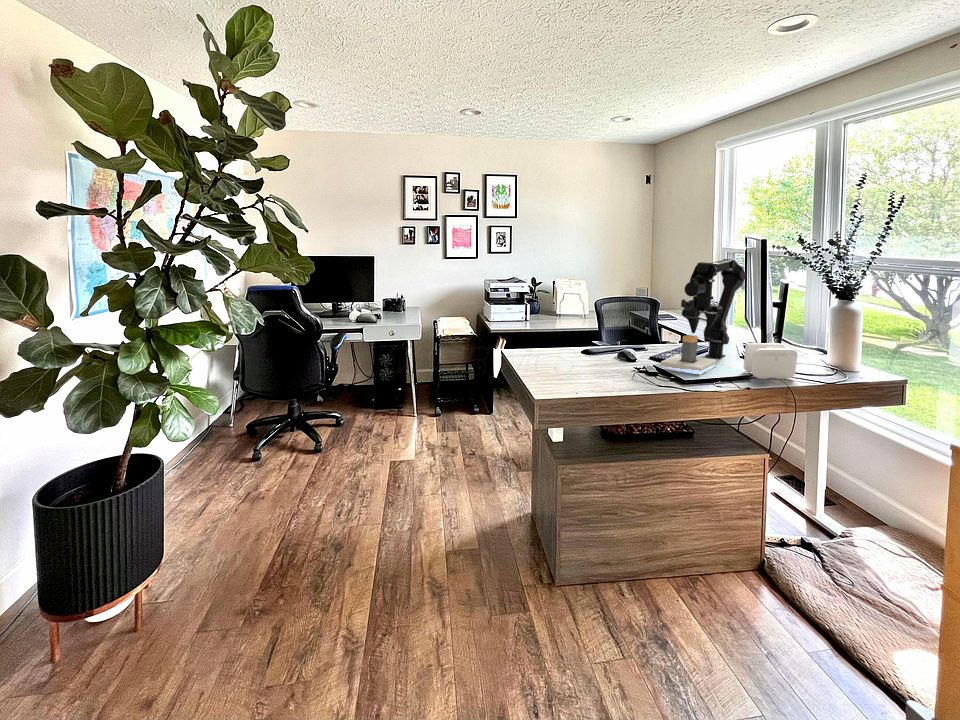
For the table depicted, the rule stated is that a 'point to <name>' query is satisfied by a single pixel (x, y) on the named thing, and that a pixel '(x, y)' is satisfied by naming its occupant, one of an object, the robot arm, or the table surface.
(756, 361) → the cable organizer
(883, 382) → the table surface
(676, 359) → the socket block
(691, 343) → the plug
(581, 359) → the table surface
